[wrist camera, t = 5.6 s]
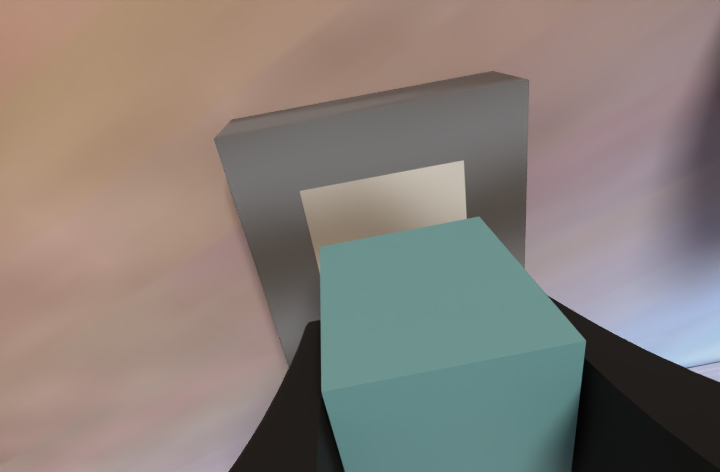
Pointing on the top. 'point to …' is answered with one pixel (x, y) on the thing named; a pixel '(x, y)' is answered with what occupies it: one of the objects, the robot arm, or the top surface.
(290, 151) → the plinth
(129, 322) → the top surface
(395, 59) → the top surface
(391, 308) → the teal block
